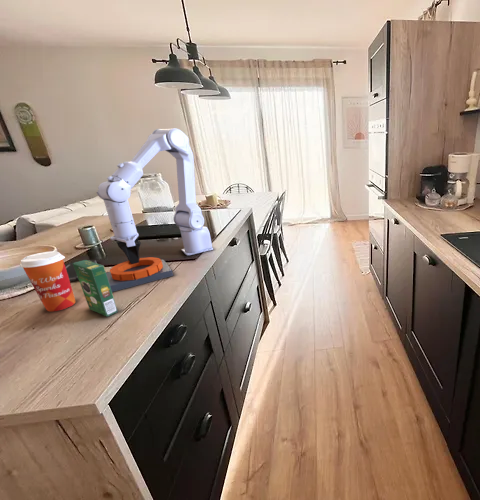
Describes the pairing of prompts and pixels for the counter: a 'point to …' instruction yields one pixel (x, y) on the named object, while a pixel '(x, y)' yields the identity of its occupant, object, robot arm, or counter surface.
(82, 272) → the coffee box
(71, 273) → the phone
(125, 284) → the blue-grey rectangular slab
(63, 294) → the paper cup
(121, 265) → the orange ring
